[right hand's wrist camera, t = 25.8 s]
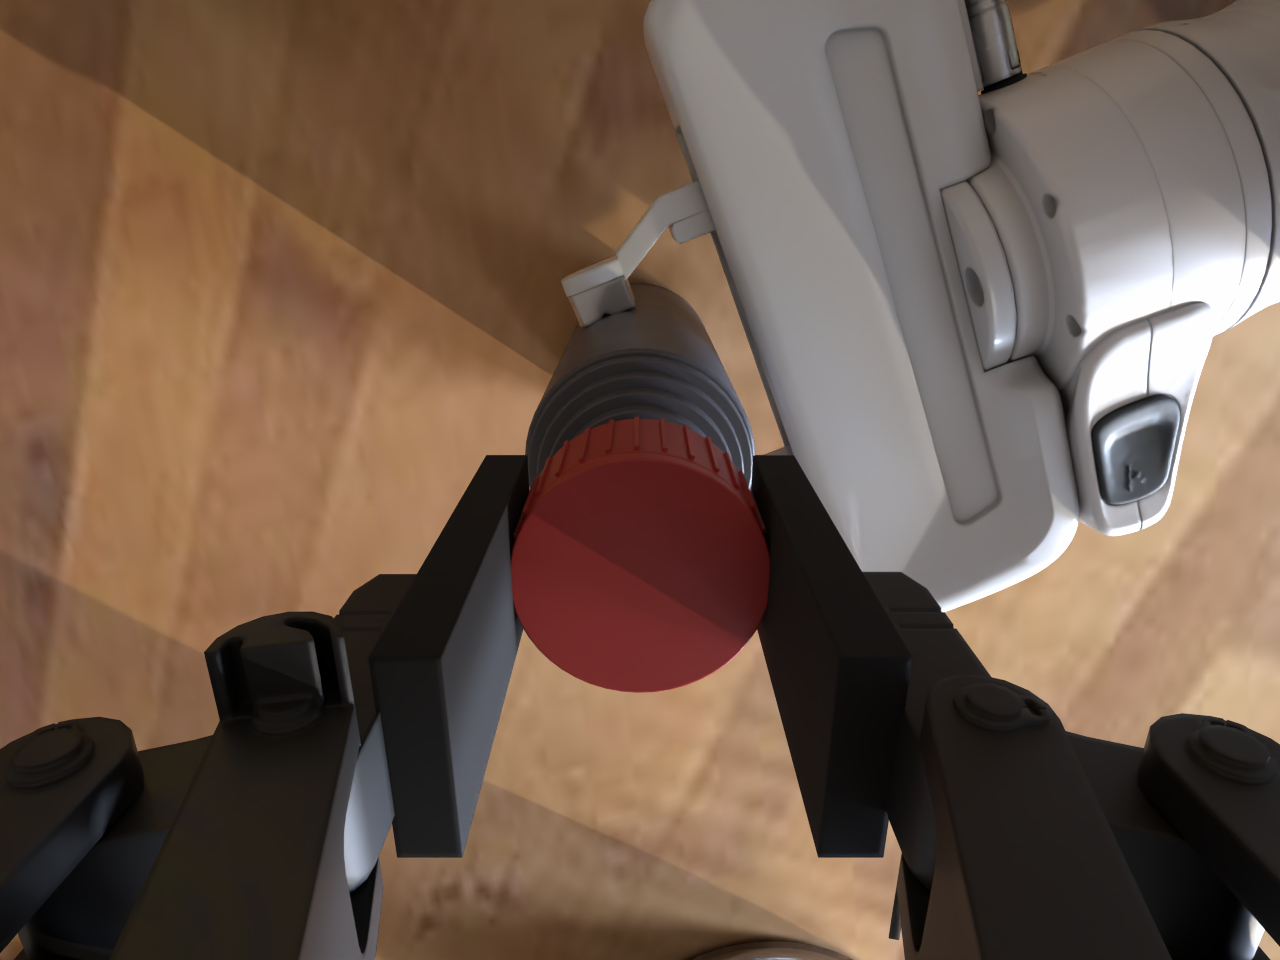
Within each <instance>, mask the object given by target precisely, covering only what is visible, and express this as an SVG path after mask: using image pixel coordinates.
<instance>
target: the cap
mask: <svg viewBox="0 0 1280 960" xmlns="http://www.w3.org/2000/svg"><path fill="white" fill-rule="evenodd" d="M766 532H767V531H766V528H765V525H764V523H763V520H762V517H761V515H760V512H759V509H758V507H757V504H756V501H755V499H754V496H753V493H752V491H750V490H749V487H748V484H747V482H746V479H745V476H744V473H743V472H742V470H740V471H738V470H737V468H736V467H735V465H734V464H733V462H732V461H731V458H730V455H729V453H728V452H727V451H726V452H725V453H724V452H723V451H722V450H721V449H719V448H718V447H717V446H716V445H715V444H714V443H712V440H711V438H710V437H708V436H707V437H706V438H705V437H704V436H702V435H700V434H698V433H696V432H694V431H692V430H690V429H689V426H687V425H684V427H683V426H680V425H677V424H675V423H670V422H666V421H665V419H663V418H660V420H653V419H639V417H634V419H626V420H620V421H614V420H609V423H607V424H603V425H600V426H597V427H595V428H593V429H590V428H587V429H585V432H584V433H582V434H580V435H579V436H577V437H576V438H574V439H572V440H571V441H570V442H569V441H568V440H567V441H565V442H564V445H563V447H562V448H561V449H560V450H559V451H558V452H557V453H556V454H555V455H554V456H553V457H550V456H549V457H548V458H547V461H546V463H545V466H544V469H543V470H542V472H541V474H540V476H539V477H538V476H535V478H534V480H533V483H532V486H531V489H530V491H529V494H528V497H527V499H526V502H525V505H524V507H523V510H522V513H521V516H520V519H519V522H518V525H517V527H516V530H515V533H514V539H515V542H514V545H513V548H512V552H511V560H510V561H511V578H512V593H513V605H514V609H515V612H516V614H517V616H518V619H519V621H520V623H521V625H522V627H523V628H524V630H525V632H526V633H527V635H528V637H529V638H530V639H531V641H532V642H533V643H534V644H535V646H536V647H537V648H538V649H539V650H540V651H541V652H542V653H543V654H544V655H545V656H546V657H547V658H548V659H549V660H550V661H551V662H553V663H554V664H555V665H557V666H558V667H559V668H561V669H562V670H564V671H566V672H567V673H569V674H571V675H572V676H574V677H576V678H578V679H581V680H583V681H585V682H587V683H590V684H593V685H596V686H599V687H603V688H606V689H612V690H617V691H624V692H637V693H638V692H657V691H664V690H670V689H674V688H678V687H681V686H685V685H688V684H690V683H693V682H696V681H698V680H700V679H702V678H704V677H706V676H708V675H710V674H712V673H714V672H715V671H717V670H718V669H720V668H721V667H723V666H724V665H725V664H727V663H728V662H729V661H730V660H731V659H733V658H734V657H735V656H736V655H737V654H738V653H739V652H740V651H741V650H742V649H743V647H744V646H745V645H746V644H747V643H748V642H749V640H750V639H751V637H752V636H753V634H754V633H755V631H756V630H757V628H758V626H759V624H760V622H761V620H762V618H763V616H764V613H765V610H766V607H767V600H768V585H769V570H770V553H769V550H768V546H767V542H766V539H765V536H764V533H766Z"/></svg>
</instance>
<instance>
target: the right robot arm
mask: <svg viewBox="0 0 1280 960" xmlns="http://www.w3.org/2000/svg"><path fill="white" fill-rule="evenodd" d="M751 491H752V493H753V496H754V499H755V501H756V504H757V507H758V509H759V512H760V515H761V517H762V520H763V523H764V525H765V528H766V531H767V532H766V533H764V536H765V539H766V542H767V546H768V550H769V553H770V570H769V585H768V600H767V607H766V610H765V613H764V616H763V618H762V620H761V622H760V624H759V626H758V628H757V630H758V634H759V637H760V641H761V645H762V649H763V652H764V656H765V660H766V664H767V667H768V671H769V675H770V679H771V682H772V686H773V690H774V694H775V697H776V701H777V705H778V709H779V712H780V716H781V720H782V724H783V727H784V731H785V735H786V738H787V742H788V746H789V750H790V753H791V757H792V761H793V765H794V768H795V772H796V776H797V780H798V783H799V787H800V791H801V795H802V798H803V802H804V806H805V810H806V813H807V817H808V821H809V825H810V828H811V832H812V836H813V839H814V843H815V847H816V851H817V854H818V857H883V856H884V849H885V842H886V835H887V828H888V822H889V821H890V823H891V826H892V828H893V831H894V833H895V836H896V838H897V841H898V843H899V846H900V849H901V851H902V855H901V861H900V868H899V874H898V880H897V887H896V893H895V899H894V906H893V912H892V918H891V925H890V932H889V938H890V939H896V940H899V937H900V932H901V929H902V937H903V946H904V954H905V960H1270V959H1269V958H1268V956H1267V955H1266V954H1265V953H1264V952H1263V951H1262V949H1261V948H1260V947H1259V946H1258V945H1259V942H1260V940H1261V937H1262V935H1263V932H1264V929H1265V930H1266V931H1267V933H1268V934H1269V935H1270V936H1271V937H1272V938H1273V939H1274V941H1275V942H1276V943H1277V944H1278V945H1279V946H1280V744H1278V743H1277V742H1275V741H1274V740H1272V739H1271V738H1268V737H1266V736H1264V735H1262V734H1260V733H1257V732H1255V731H1253V730H1251V729H1249V728H1247V727H1246V726H1244V725H1241V724H1238V723H1235V722H1232V721H1229V720H1227V721H1225V720H1223V719H1222V718H1217V717H1212V716H1203V715H1193V714H1183V713H1182V714H1176V715H1170V716H1164V717H1161V718H1160V719H1159V720H1157V721H1156V722H1155V723H1154V724H1153V725H1151V726H1150V729H1149V733H1148V736H1147V740H1146V743H1145V747H1144V748H1140V747H1135V746H1130V745H1125V744H1120V743H1115V742H1110V741H1105V740H1100V739H1095V738H1090V737H1086V736H1082V735H1078V734H1074V733H1071V732H1067V731H1065V729H1064V727H1063V725H1062V723H1061V721H1060V719H1059V718H1058V716H1057V715H1056V714H1055V712H1054V711H1053V710H1052V709H1051V707H1050V706H1049V705H1048V704H1047V703H1046V702H1044V701H1043V700H1041V699H1040V698H1039V697H1037V696H1036V695H1034V694H1033V693H1031V692H1030V691H1029V690H1026V689H1024V688H1022V687H1019V686H1017V685H1014V684H1012V683H1010V682H1007V681H1005V680H1001V679H996V678H992V677H991V676H990V675H989V673H988V672H987V670H986V669H985V668H984V666H983V665H982V664H981V662H980V661H979V659H978V658H977V657H976V655H975V654H974V653H973V651H972V650H971V648H970V647H969V646H968V644H967V643H966V641H965V640H964V639H963V637H962V636H961V635H960V633H959V632H958V630H957V629H954V628H953V624H952V622H951V621H950V619H949V618H948V617H947V615H946V614H945V612H942V611H941V607H940V606H939V604H938V603H937V601H936V600H935V599H934V597H933V596H932V595H931V593H930V592H929V590H928V589H927V588H926V587H924V586H922V585H921V584H919V583H918V582H916V581H915V580H913V579H912V578H910V577H908V576H907V575H905V574H904V573H902V572H862V571H861V569H860V567H859V566H858V564H857V562H856V560H855V559H854V557H853V555H852V554H851V552H850V550H849V548H848V547H847V545H846V543H845V542H844V540H843V538H842V536H841V535H840V533H839V531H838V530H837V528H836V526H835V524H834V523H833V521H832V519H831V518H830V516H829V514H828V512H827V511H826V509H825V507H824V506H823V504H822V502H821V501H820V499H819V497H818V495H817V494H816V492H815V490H814V489H813V487H812V485H811V483H810V482H809V480H808V478H807V477H806V475H805V473H804V471H803V470H802V468H801V466H800V465H799V463H798V461H797V459H796V458H795V456H794V455H753V464H752V483H751ZM528 494H529V474H528V456H527V455H486V457H485V459H484V460H483V462H482V464H481V465H480V467H479V469H478V471H477V472H476V474H475V476H474V477H473V479H472V481H471V483H470V484H469V486H468V488H467V489H466V491H465V493H464V495H463V496H462V498H461V500H460V501H459V503H458V505H457V506H456V508H455V510H454V512H453V513H452V515H451V517H450V518H449V520H448V522H447V524H446V525H445V527H444V529H443V530H442V532H441V534H440V536H439V537H438V539H437V541H436V542H435V544H434V546H433V548H432V549H431V551H430V553H429V554H428V556H427V558H426V560H425V561H424V563H423V565H422V566H421V568H420V570H419V572H418V573H417V574H379V575H378V576H376V577H375V578H373V579H372V580H370V581H369V582H367V583H365V584H364V585H362V586H361V587H359V588H358V589H356V590H355V591H353V593H352V594H351V596H350V597H349V598H348V600H347V601H346V603H345V604H344V605H343V607H342V608H341V609H340V613H339V615H336V616H335V618H333V617H332V616H328V615H324V614H320V613H316V612H285V613H280V614H275V615H269V616H264V617H261V618H258V619H255V620H252V621H250V622H247V623H244V624H241V625H239V626H237V627H235V628H233V629H232V630H230V631H228V632H227V633H225V634H223V635H222V636H220V637H218V638H217V639H216V640H215V641H214V642H213V643H212V644H211V645H210V646H209V647H208V649H207V650H206V651H205V652H204V654H205V658H206V663H207V667H208V671H209V675H210V680H211V684H212V688H213V692H214V697H215V701H216V705H217V710H218V714H219V718H220V722H219V724H218V726H217V728H216V730H215V733H214V735H211V736H208V737H204V738H200V739H196V740H192V741H187V742H182V743H177V744H172V745H168V746H163V747H158V748H153V749H148V750H143V751H138V752H137V748H136V745H135V741H134V737H133V734H132V730H131V729H130V728H128V727H127V726H126V725H125V724H124V723H123V722H121V721H120V720H115V719H109V718H103V717H93V718H83V719H72V720H67V721H62V722H58V724H55V723H54V724H51V725H48V726H45V727H42V728H39V729H37V730H36V731H34V732H32V733H30V734H28V735H26V736H23V737H21V738H19V739H17V740H15V741H12V742H11V743H9V744H8V745H6V746H5V747H3V748H2V749H0V953H1V952H2V950H3V949H4V948H5V947H6V946H7V945H8V944H9V942H10V941H11V940H12V939H13V938H14V937H15V936H16V934H17V933H18V935H19V938H20V940H21V943H22V945H23V948H24V949H23V950H22V951H21V952H20V953H19V955H18V956H17V957H16V958H15V959H14V960H375V956H376V948H377V939H378V931H379V922H380V914H381V905H382V897H383V882H382V874H381V868H380V861H379V854H380V851H381V849H382V846H383V844H384V841H385V839H386V836H387V834H388V831H389V828H390V826H391V823H392V825H393V832H394V839H395V845H396V852H397V857H462V856H463V852H464V849H465V845H466V841H467V838H468V834H469V830H470V826H471V823H472V819H473V815H474V811H475V808H476V804H477V800H478V796H479V793H480V789H481V785H482V781H483V778H484V774H485V770H486V766H487V763H488V759H489V755H490V751H491V748H492V744H493V740H494V736H495V733H496V729H497V725H498V722H499V718H500V714H501V710H502V707H503V703H504V699H505V695H506V692H507V688H508V684H509V680H510V677H511V673H512V669H513V665H514V662H515V658H516V654H517V650H518V647H519V643H520V639H521V635H522V632H523V627H522V625H521V623H520V621H519V619H518V616H517V614H516V612H515V609H514V605H513V593H512V578H511V561H510V560H511V552H512V548H513V545H514V542H515V539H514V533H515V530H516V527H517V525H518V522H519V519H520V516H521V513H522V510H523V507H524V505H525V502H526V499H527V497H528ZM691 960H852V959H850V958H849V957H846V956H844V955H842V954H839V953H837V952H834V951H831V950H828V949H825V948H821V947H817V946H813V945H808V944H802V943H794V942H777V941H767V942H753V943H745V944H738V945H733V946H728V947H725V948H721V949H717V950H714V951H711V952H708V953H705V954H703V955H700V956H698V957H696V958H694V959H691Z"/></svg>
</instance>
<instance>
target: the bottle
mask: <svg viewBox="0 0 1280 960" xmlns="http://www.w3.org/2000/svg"><path fill="white" fill-rule="evenodd" d="M630 287H631V289H632V292H633V295H634V297H635V307H633V308H630V309H628V310H626V311H623V312H621V313H617V314H613V315H611V314H607V313H605V314H604V315H603V317H602V318H601V320H599V321H597V322H595V323H593V324H591V325H588V326H585V327H580V325H579V322H578V324H577V326H576V328H575V330H574V332H573V335H572V337H571V339H570V341H569V343H568V345H567V347H566V349H565V351H564V353H563V355H562V358H561V360H560V362H559V364H558V366H557V368H556V370H555V372H554V374H553V376H552V378H551V380H550V383H549V385H548V387H547V389H546V391H545V393H544V395H543V397H542V399H541V401H540V403H539V406H538V408H537V410H536V412H535V414H534V417H533V419H532V422H531V425H530V427H529V432H528V436H527V441H526V452H525V455H527V456H528V474H529V486H530V489H531V486H532V483H533V480H534V478H535V476H538V477H539V476H540V474H541V472H542V470H543V469H544V466H545V463H546V461H547V458H548V457H549V456H550V457H553V456H554V455H555V454H556V453H557V452H558V451H559V450H560V449H561V448H562V447H563V445H564V442H565V441H567V440H568V441H569V442H570V441H571V440H572V439H574V438H576V437H577V436H579V435H580V434H582V433H584V432H585V429H587V428H590V429H593V428H595V427H597V426H600V425H603V424H607V423H609V420H614V421H620V420H626V419H634V417H639V419H653V420H660V418H663V419H665V421H666V422H670V423H675V424H677V425H680V426H683V427H684V425H687V426H689V429H690V430H692V431H694V432H696V433H698V434H700V435H702V436H704V437H705V438H706V437H707V436H708V437H710V438H711V440H712V443H714V444H715V445H716V446H717V447H718V448H719V449H721V450H722V451H723V452H724V453H725V452H726V451H727V452H728V453H729V455H730V458H731V461H732V462H733V464H734V465H735V467H736V468H737V470H738V471H740V470H742V472H743V473H744V476H745V479H746V482H747V484H748V487H749V490H750V487H751V483H752V464H753V455H755V445H754V438H753V434H752V429H751V426H750V423H749V421H748V418H747V415H746V413H745V411H744V409H743V407H742V404H741V402H740V400H739V398H738V396H737V394H736V392H735V390H734V388H733V386H732V384H731V382H730V379H729V377H728V375H727V373H726V371H725V369H724V367H723V365H722V363H721V361H720V359H719V357H718V354H717V352H716V350H715V348H714V346H713V344H712V342H711V340H710V338H709V336H708V334H707V331H706V329H705V327H704V325H703V323H702V321H701V320H700V318H699V316H698V314H697V313H696V312H695V310H694V309H693V308H692V307H691V306H690V305H689V304H688V303H687V302H686V301H685V300H684V299H683V298H681V297H680V296H679V295H677V294H675V293H673V292H672V291H670V290H667V289H665V288H662V287H659V286H655V285H648V284H632V285H630Z"/></svg>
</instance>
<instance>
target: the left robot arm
mask: <svg viewBox="0 0 1280 960" xmlns="http://www.w3.org/2000/svg"><path fill="white" fill-rule="evenodd" d="M1005 1H1006V0H650V3H649V5H648V8H647V11H646V13H645V16H644V23H643V34H644V42H645V45H646V48H647V51H648V54H649V57H650V60H651V63H652V66H653V69H654V72H655V74H656V77H657V80H658V83H659V86H660V89H661V92H662V95H663V97H664V100H665V103H666V106H667V109H668V112H669V115H670V118H671V120H672V123H673V126H674V129H675V132H676V135H677V138H678V141H679V143H680V146H681V149H682V152H683V155H684V158H685V161H686V164H687V166H688V169H689V172H690V175H691V178H692V181H693V182H691V183H689V184H686V185H684V186H682V187H679V188H677V189H675V190H672V191H670V192H668V193H665V194H663V195H661V196H659V197H657V198H656V199H655V200H654V202H653V203H652V204H651V206H650V207H649V208H648V209H647V211H646V212H645V213H644V215H643V216H642V217H641V219H640V220H639V221H638V223H637V224H636V225H635V227H634V228H633V229H632V231H631V232H630V233H629V235H628V236H627V237H626V239H625V240H624V241H623V243H622V244H621V245H620V247H619V248H618V249H617V251H616V254H615V256H612V257H610V258H608V259H605V260H603V261H600V262H598V263H596V264H593V265H591V266H588V267H586V268H584V269H581V270H579V271H576V272H574V273H572V274H570V275H568V276H566V277H564V278H563V279H562V280H561V283H562V286H563V288H564V291H565V293H566V296H567V298H568V300H569V302H570V304H571V307H572V309H573V311H574V313H575V316H576V318H577V320H578V322H579V325H580V327H585V326H588V325H591V324H593V323H595V322H597V321H599V320H601V318H602V317H603V315H604V314H605V313H607V314H611V315H613V314H617V313H621V312H623V311H626V310H628V309H630V308H633V307H635V297H634V295H633V292H632V289H631V287H630V284H629V281H628V279H627V278H628V277H629V276H630V274H631V273H632V272H633V271H634V269H635V268H636V267H637V265H638V264H639V263H640V262H641V260H642V259H643V258H644V256H645V255H646V254H647V252H648V251H649V250H650V249H651V247H652V246H653V245H654V243H655V242H656V241H657V239H658V238H659V237H660V236H661V234H662V233H663V232H664V230H665V229H666V228H667V227H668V225H669V229H670V232H671V235H672V237H673V239H674V240H675V241H676V242H678V243H680V244H681V243H684V242H686V241H689V240H691V239H694V238H696V237H699V236H701V235H704V234H706V233H709V232H710V233H711V235H712V238H713V241H714V244H715V247H716V250H717V253H718V256H719V258H720V261H721V264H722V267H723V270H724V273H725V276H726V279H727V281H728V284H729V287H730V290H731V293H732V296H733V299H734V302H735V304H736V307H737V310H738V313H739V316H740V319H741V322H742V324H743V327H744V330H745V333H746V336H747V339H748V342H749V345H750V347H751V350H752V353H753V356H754V359H755V362H756V365H757V368H758V370H759V373H760V376H761V379H762V382H763V385H764V388H765V391H766V393H767V396H768V399H769V402H770V405H771V408H772V411H773V414H774V416H775V419H776V422H777V425H778V428H779V431H780V434H781V437H782V439H783V442H784V445H785V447H783V448H780V449H778V450H775V451H772V452H770V453H767V454H765V455H794V456H795V458H796V459H797V461H798V463H799V465H800V466H801V468H802V470H803V471H804V473H805V475H806V477H807V478H808V480H809V482H810V483H811V485H812V487H813V489H814V490H815V492H816V494H817V495H818V497H819V499H820V501H821V502H822V504H823V506H824V507H825V509H826V511H827V512H828V514H829V516H830V518H831V519H832V521H833V523H834V524H835V526H836V528H837V530H838V531H839V533H840V535H841V536H842V538H843V540H844V542H845V543H846V545H847V547H848V548H849V550H850V552H851V554H852V555H853V557H854V559H855V560H856V562H857V564H858V566H859V567H860V569H861V571H862V572H902V573H904V574H905V575H907V576H908V577H910V578H912V579H913V580H915V581H916V582H918V583H919V584H921V585H922V586H924V587H926V588H927V589H928V590H929V592H930V593H931V595H932V596H933V597H934V599H935V600H936V601H937V603H938V604H939V606H940V607H941V611H942V612H946V611H949V610H951V609H954V608H957V607H959V606H962V605H965V604H968V603H970V602H973V601H975V600H978V599H980V598H983V597H985V596H988V595H990V594H993V593H995V592H997V591H1000V590H1002V589H1004V588H1007V587H1009V586H1011V585H1013V584H1016V583H1018V582H1020V581H1022V580H1024V579H1026V578H1028V577H1030V576H1032V575H1034V574H1036V573H1037V572H1039V571H1041V570H1042V569H1044V568H1045V567H1047V566H1048V565H1050V564H1051V563H1052V562H1053V561H1055V560H1056V559H1057V558H1058V557H1059V556H1060V555H1061V554H1062V553H1063V552H1064V551H1065V549H1066V548H1067V547H1068V545H1069V544H1070V542H1071V541H1072V539H1073V536H1074V534H1075V532H1076V529H1077V526H1078V520H1079V521H1080V522H1082V523H1084V524H1085V525H1087V526H1089V527H1091V528H1093V529H1094V530H1096V531H1098V532H1100V533H1102V534H1104V535H1107V536H1119V535H1124V534H1129V533H1132V532H1135V531H1138V530H1141V529H1144V528H1146V527H1149V526H1151V525H1152V524H1154V523H1156V522H1157V521H1159V520H1160V519H1161V518H1162V517H1163V515H1164V514H1165V512H1166V511H1167V509H1168V507H1169V504H1170V501H1171V498H1172V493H1173V489H1174V484H1175V479H1176V473H1177V468H1178V462H1179V457H1180V452H1181V447H1182V442H1183V438H1184V433H1185V429H1186V424H1187V420H1188V416H1189V412H1190V408H1191V404H1192V400H1193V397H1194V393H1195V390H1196V387H1197V383H1198V380H1199V376H1200V374H1201V371H1202V368H1203V365H1204V362H1205V359H1206V356H1207V353H1208V351H1209V348H1210V345H1211V341H1212V337H1213V336H1216V335H1218V334H1220V333H1223V332H1225V331H1226V330H1228V329H1230V328H1232V327H1233V326H1235V325H1237V324H1238V323H1240V322H1241V321H1243V320H1244V319H1246V318H1248V317H1249V316H1251V315H1253V314H1255V313H1256V312H1258V311H1260V310H1262V309H1264V308H1265V307H1267V306H1269V305H1272V304H1275V303H1277V302H1280V0H1236V1H1235V2H1234V3H1232V4H1231V5H1229V6H1227V7H1225V8H1224V9H1222V10H1220V11H1218V12H1216V13H1213V14H1211V15H1208V16H1204V17H1201V18H1195V19H1188V20H1176V21H1167V22H1161V23H1156V24H1153V25H1149V26H1146V27H1142V28H1139V29H1136V30H1133V31H1130V32H1128V33H1126V34H1124V35H1121V36H1119V37H1117V38H1114V39H1112V40H1109V41H1107V42H1104V43H1102V44H1099V45H1097V46H1095V47H1092V48H1090V49H1087V50H1085V51H1083V52H1080V53H1078V54H1076V55H1073V56H1071V57H1068V58H1066V59H1064V60H1061V61H1059V62H1056V63H1054V64H1052V65H1049V66H1047V67H1044V68H1042V69H1040V70H1037V71H1034V72H1032V73H1030V74H1026V73H1025V74H1023V73H1022V69H1021V64H1020V58H1019V53H1018V49H1017V44H1016V39H1015V34H1014V29H1013V24H1012V20H1011V16H1010V12H1009V8H1008V4H1006V3H1005ZM983 89H984V90H983ZM980 90H983V91H981V95H978V91H980ZM750 491H751V487H750Z"/></svg>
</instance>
